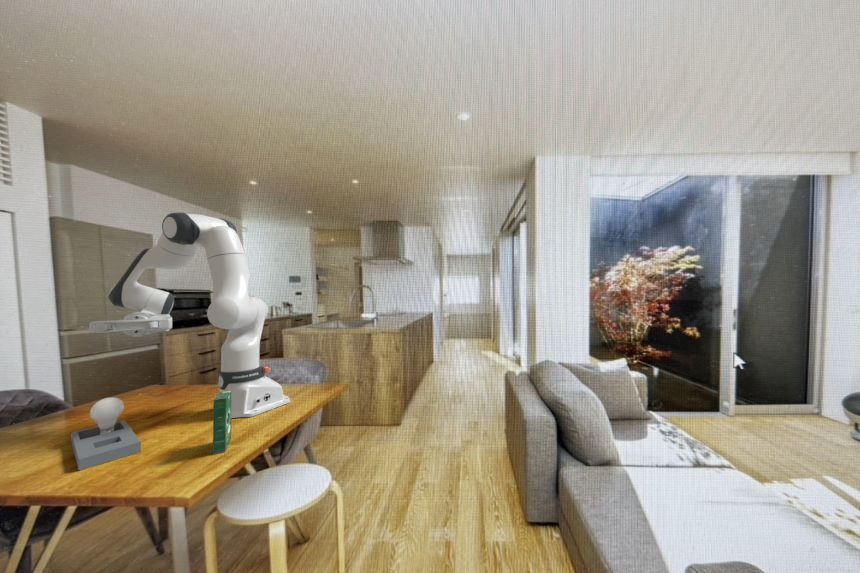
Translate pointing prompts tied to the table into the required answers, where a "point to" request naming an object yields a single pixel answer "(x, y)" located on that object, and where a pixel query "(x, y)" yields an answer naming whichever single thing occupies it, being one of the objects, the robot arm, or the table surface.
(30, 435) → the table surface
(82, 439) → the hole board
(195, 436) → the table surface
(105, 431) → the lightbulb
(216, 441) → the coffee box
